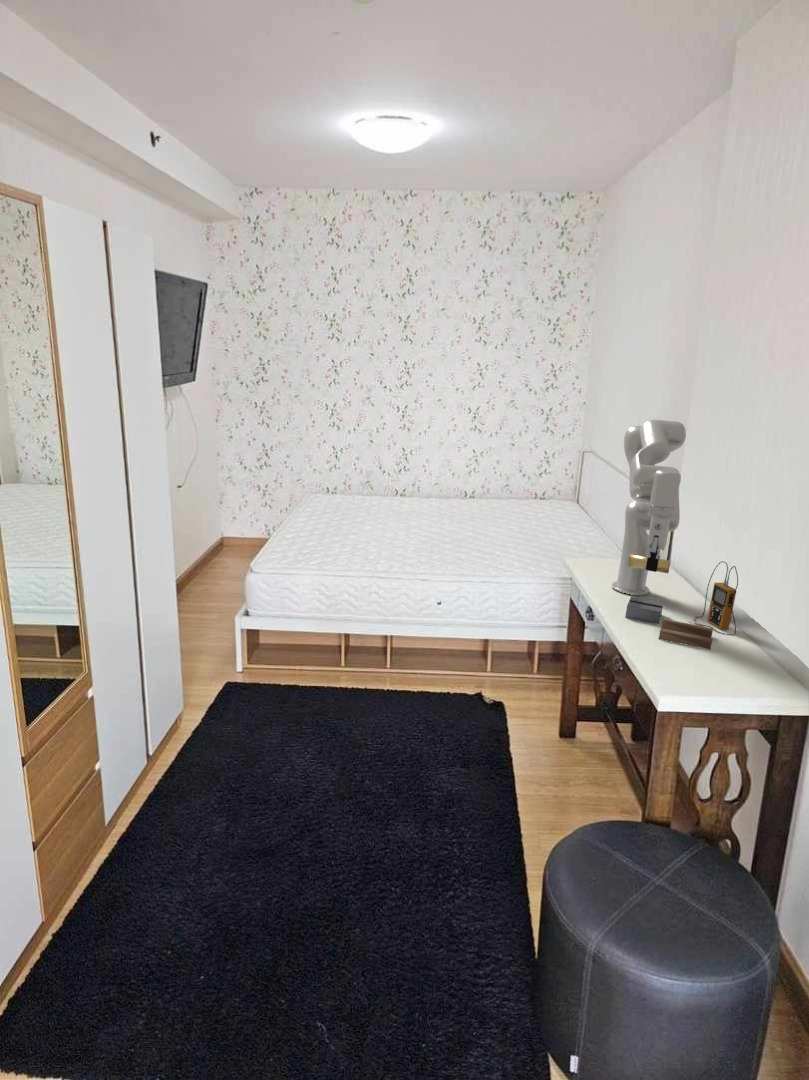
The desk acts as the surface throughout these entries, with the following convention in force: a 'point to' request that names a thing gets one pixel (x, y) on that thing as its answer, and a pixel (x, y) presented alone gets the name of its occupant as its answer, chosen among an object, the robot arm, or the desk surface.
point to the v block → (644, 610)
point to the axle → (641, 562)
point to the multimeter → (721, 604)
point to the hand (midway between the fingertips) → (651, 568)
